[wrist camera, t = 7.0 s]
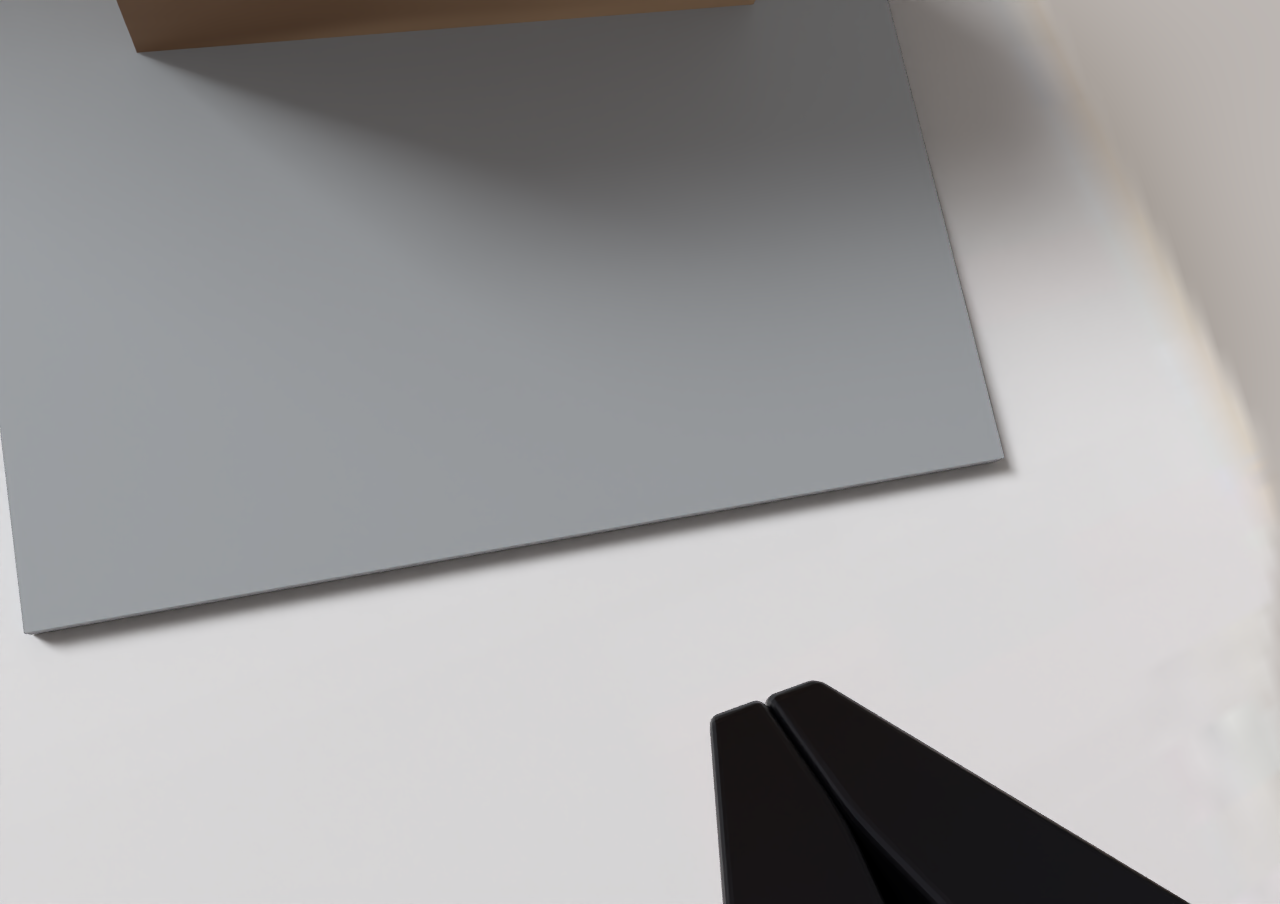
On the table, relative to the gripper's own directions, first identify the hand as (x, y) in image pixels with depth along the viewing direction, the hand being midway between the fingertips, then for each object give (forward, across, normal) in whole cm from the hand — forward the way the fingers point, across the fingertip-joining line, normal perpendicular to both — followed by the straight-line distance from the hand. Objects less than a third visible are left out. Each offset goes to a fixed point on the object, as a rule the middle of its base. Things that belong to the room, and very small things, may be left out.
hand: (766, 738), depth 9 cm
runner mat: (+21, -2, -3) cm, 21 cm away
